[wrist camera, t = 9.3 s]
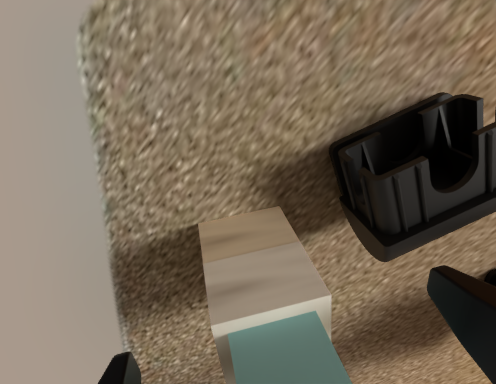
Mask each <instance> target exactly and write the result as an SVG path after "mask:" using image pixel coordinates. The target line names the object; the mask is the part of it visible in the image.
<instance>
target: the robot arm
mask: <svg viewBox="0 0 496 384" xmlns="http://www.w3.org/2000/svg"><path fill="white" fill-rule="evenodd" d="M427 291H428V294H429V296H430V297H431V299H432V300H433V302H434V304H435V305H436V307H437V308H438V310H439V311H440V313H441V314H442V316H443V317H444V319H445V320H446V322H447V324H448V325H449V327H450V328H451V330H452V331H453V333H454V334H455V336H456V337H457V339H458V340H459V341H460V343H461V344H462V345H463V347H464V348H465V349H466V351H467V352H468V353H469V354H470V356H471V357H472V358H473V359H474V361H475V362H476V363H477V365H478V366H479V367H480V368H481V370H482V371H483V372H484V373H485V375H486V376H487V377H488V378H489V380H490V381H491V382H492V384H496V270H494V271H491V272H490V273H489V274H488V276H487V278H486V282H483V281H481V280H479V279H476V278H474V277H472V276H469V275H467V274H465V273H462V272H460V271H458V270H455V269H453V268H451V267H448V266H445V265H443V266H438V267H435V268H432V269H431V270H430V274H429V279H428V284H427ZM98 384H141V373H140V369H139V367H138V365H137V363H136V361H135V358H134V356H133V354H132V353H131V352H124V353H121V354H117V355H115V356H114V358H113V359H112V360H111V362H110V364H109V365H108V367H107V369H106V371H105V372H104V374H103V376H102V377H101V379H100V381H99V382H98Z"/></svg>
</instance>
